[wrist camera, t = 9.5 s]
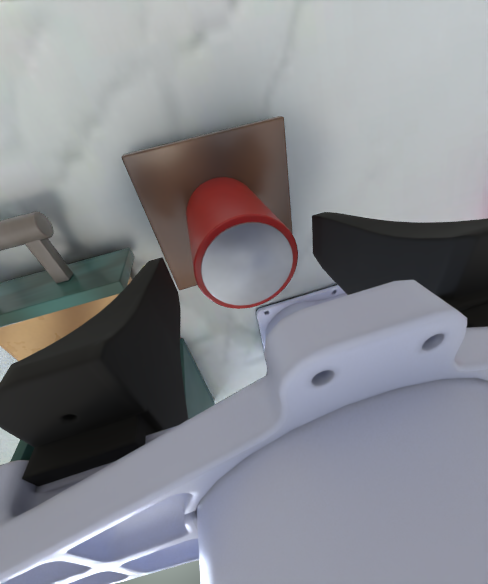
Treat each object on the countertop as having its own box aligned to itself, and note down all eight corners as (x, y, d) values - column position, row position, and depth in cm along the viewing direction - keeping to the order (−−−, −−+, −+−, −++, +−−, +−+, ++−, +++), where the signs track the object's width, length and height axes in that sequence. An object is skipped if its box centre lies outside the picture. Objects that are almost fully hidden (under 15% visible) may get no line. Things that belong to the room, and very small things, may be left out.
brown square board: (270, 115, 16) (284, 116, 14) (283, 243, 21) (294, 257, 19) (127, 150, 15) (120, 156, 13) (178, 273, 21) (179, 290, 19)
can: (251, 168, 15) (296, 201, 10) (262, 238, 18) (301, 294, 12) (175, 188, 15) (177, 233, 9) (198, 256, 17) (210, 321, 12)
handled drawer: (99, 187, 15) (77, 211, 12) (184, 353, 25) (187, 393, 21) (-126, 244, 14) (-222, 288, 11) (53, 393, 24) (33, 442, 20)
